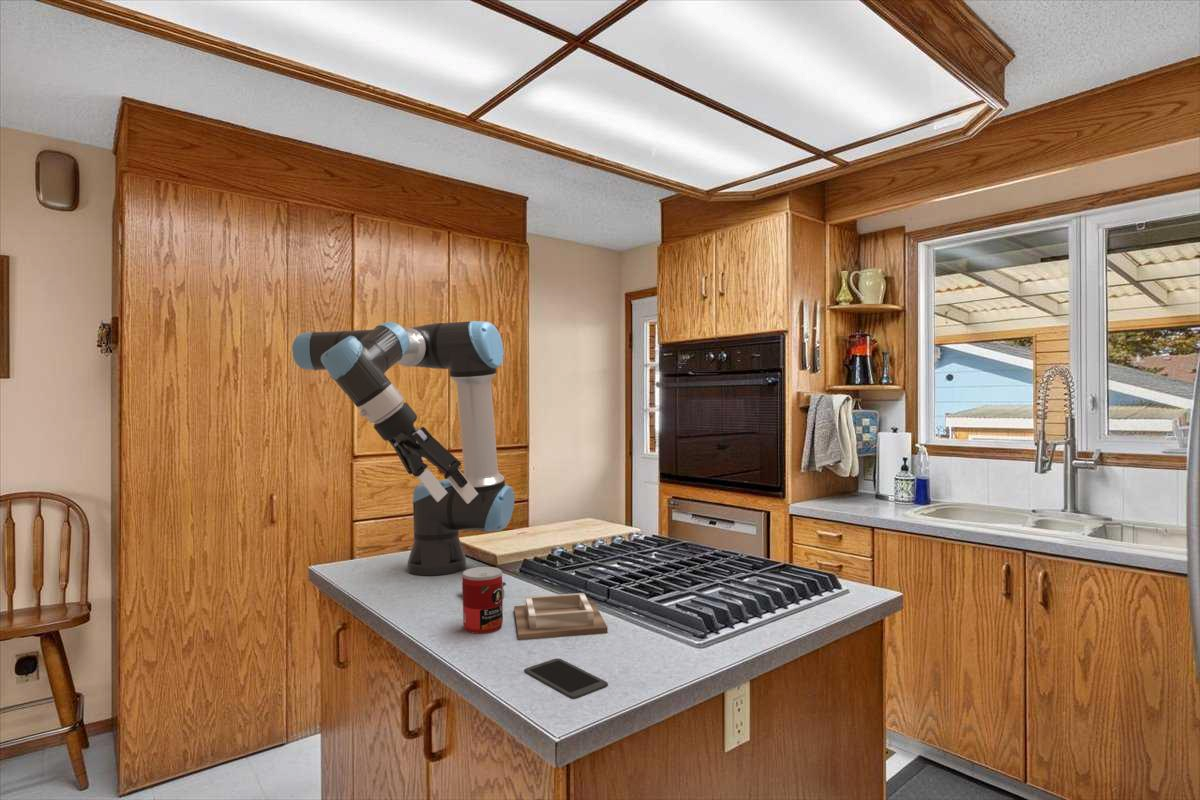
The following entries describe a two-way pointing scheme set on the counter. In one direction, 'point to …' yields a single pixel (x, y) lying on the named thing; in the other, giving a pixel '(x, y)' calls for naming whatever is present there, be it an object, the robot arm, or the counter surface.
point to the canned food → (482, 599)
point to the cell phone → (566, 678)
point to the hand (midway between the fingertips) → (456, 498)
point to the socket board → (558, 616)
